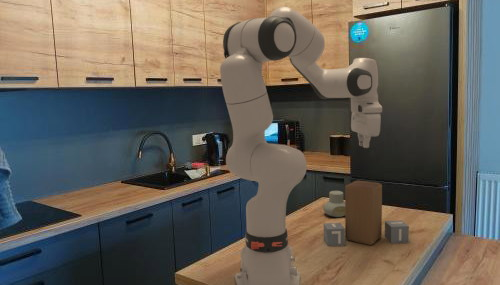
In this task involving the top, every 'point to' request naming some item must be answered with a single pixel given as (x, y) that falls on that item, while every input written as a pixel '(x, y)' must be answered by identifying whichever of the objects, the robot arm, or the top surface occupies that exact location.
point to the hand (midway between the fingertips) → (364, 146)
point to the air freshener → (335, 204)
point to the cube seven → (334, 234)
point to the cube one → (396, 231)
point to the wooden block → (363, 212)
